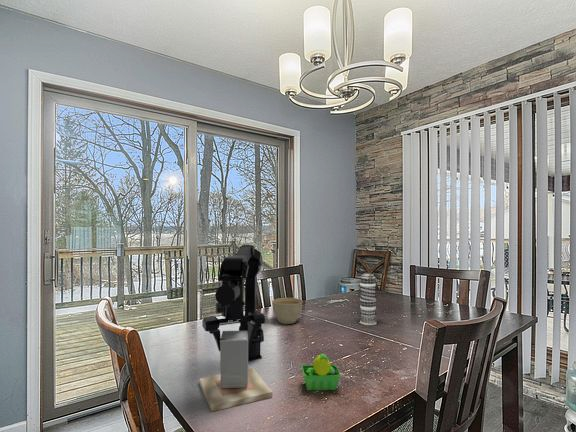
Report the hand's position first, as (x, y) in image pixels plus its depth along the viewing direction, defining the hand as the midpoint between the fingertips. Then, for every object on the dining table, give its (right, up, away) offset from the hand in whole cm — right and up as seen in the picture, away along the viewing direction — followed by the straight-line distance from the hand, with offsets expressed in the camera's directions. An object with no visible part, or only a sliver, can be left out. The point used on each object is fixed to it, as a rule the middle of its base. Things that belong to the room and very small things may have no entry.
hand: (234, 348), depth 102 cm
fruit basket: (+27, -13, +1) cm, 30 cm away
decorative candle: (+58, -14, +69) cm, 91 cm away
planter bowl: (+16, -15, +71) cm, 75 cm away
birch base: (0, -13, 0) cm, 13 cm away
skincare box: (0, -11, 0) cm, 11 cm away
